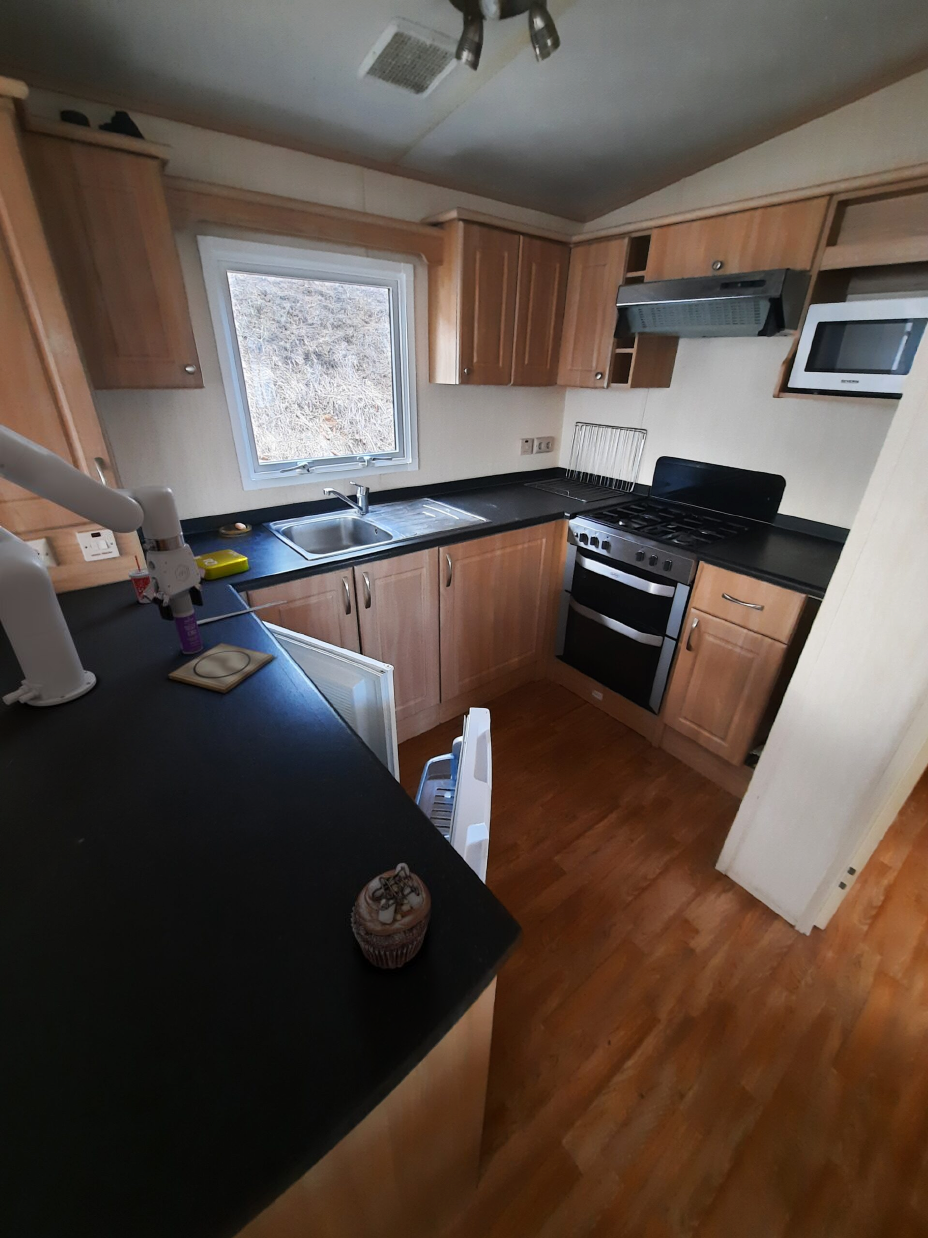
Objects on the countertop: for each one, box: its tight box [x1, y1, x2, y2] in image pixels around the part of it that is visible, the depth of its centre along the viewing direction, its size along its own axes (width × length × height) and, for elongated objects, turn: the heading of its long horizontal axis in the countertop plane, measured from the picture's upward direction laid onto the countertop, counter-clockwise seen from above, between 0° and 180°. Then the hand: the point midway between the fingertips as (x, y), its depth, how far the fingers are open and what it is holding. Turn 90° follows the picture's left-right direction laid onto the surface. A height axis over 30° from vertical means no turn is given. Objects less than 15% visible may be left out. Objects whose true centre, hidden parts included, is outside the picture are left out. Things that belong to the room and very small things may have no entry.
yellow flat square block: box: [194, 548, 250, 581], centre depth 175 cm, size 15×15×5 cm
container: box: [168, 590, 204, 655], centre depth 123 cm, size 5×5×15 cm
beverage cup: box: [127, 555, 156, 604], centre depth 150 cm, size 6×6×14 cm
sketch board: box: [168, 642, 275, 694], centre depth 119 cm, size 16×16×1 cm
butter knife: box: [196, 600, 287, 626], centre depth 146 cm, size 1×27×3 cm
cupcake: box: [350, 862, 432, 970], centre depth 61 cm, size 10×10×10 cm
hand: (183, 611), depth 122 cm, fingers open, 8 cm apart
